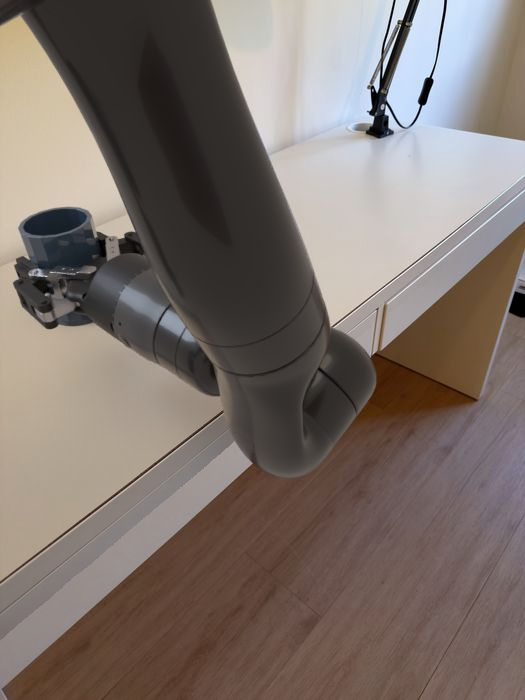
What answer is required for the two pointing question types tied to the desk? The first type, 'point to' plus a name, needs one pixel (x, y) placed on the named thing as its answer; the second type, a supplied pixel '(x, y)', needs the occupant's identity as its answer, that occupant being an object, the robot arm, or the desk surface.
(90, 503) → the desk surface
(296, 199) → the desk surface
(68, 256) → the cup
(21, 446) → the desk surface
